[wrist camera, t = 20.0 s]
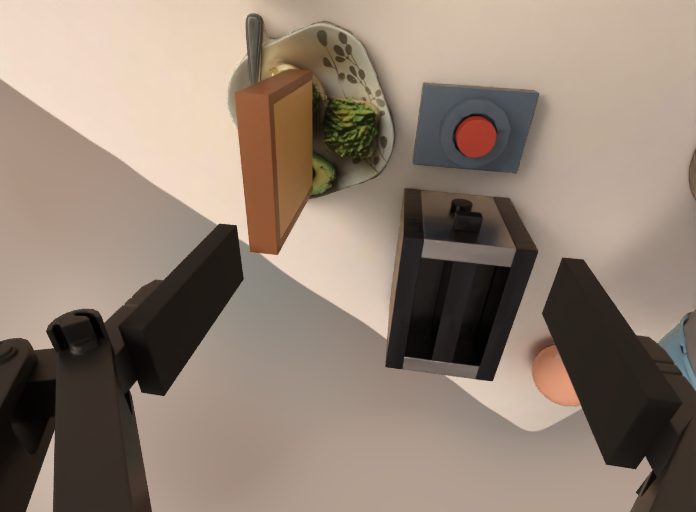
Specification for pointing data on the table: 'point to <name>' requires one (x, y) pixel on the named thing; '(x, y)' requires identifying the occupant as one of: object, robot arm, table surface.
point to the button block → (461, 103)
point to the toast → (275, 155)
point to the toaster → (456, 283)
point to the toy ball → (553, 378)
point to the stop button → (475, 136)
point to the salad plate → (326, 99)
